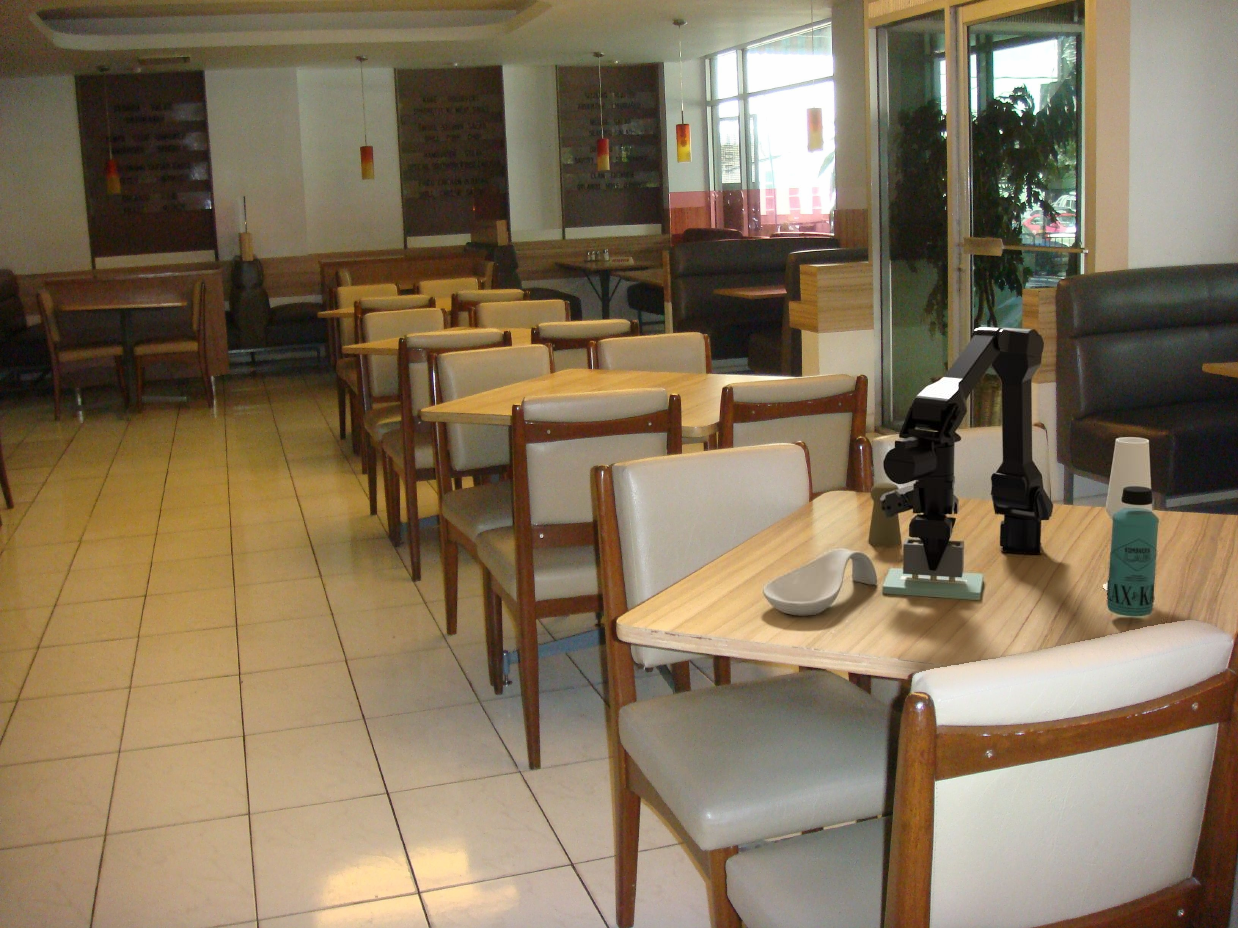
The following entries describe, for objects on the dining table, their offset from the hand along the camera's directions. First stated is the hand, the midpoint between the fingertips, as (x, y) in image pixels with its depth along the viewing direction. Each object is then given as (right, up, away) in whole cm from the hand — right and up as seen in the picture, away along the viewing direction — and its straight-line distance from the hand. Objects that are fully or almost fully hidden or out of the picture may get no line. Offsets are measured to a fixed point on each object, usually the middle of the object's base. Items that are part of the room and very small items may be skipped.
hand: (933, 566), depth 195 cm
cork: (-2, +2, +27) cm, 27 cm away
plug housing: (0, -1, 0) cm, 1 cm away
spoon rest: (-18, -5, -3) cm, 19 cm away
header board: (0, -3, +1) cm, 3 cm away
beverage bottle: (+24, -7, -17) cm, 31 cm away
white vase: (+29, -3, -3) cm, 30 cm away
